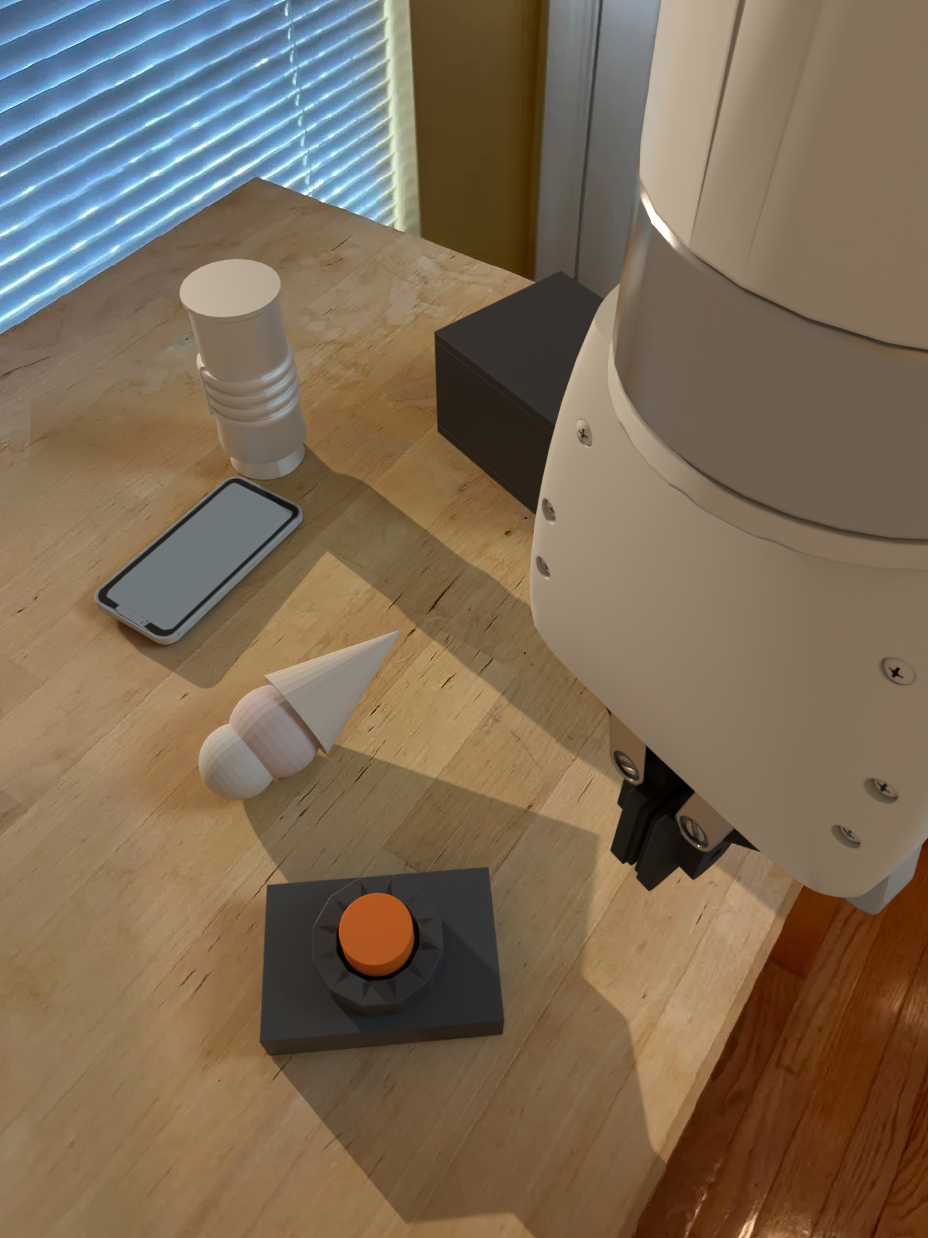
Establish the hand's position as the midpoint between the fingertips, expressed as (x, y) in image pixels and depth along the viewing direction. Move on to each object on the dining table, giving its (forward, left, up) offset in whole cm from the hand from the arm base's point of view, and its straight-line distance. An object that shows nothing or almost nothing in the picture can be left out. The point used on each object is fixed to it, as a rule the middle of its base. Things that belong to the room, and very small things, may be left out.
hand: (665, 842), depth 28 cm
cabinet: (-5, -45, -25) cm, 52 cm away
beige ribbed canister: (+18, -46, -25) cm, 55 cm away
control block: (+10, -5, -25) cm, 27 cm away
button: (+10, -5, -21) cm, 24 cm away
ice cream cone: (+14, -20, -25) cm, 35 cm away
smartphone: (+22, -35, -25) cm, 48 cm away
